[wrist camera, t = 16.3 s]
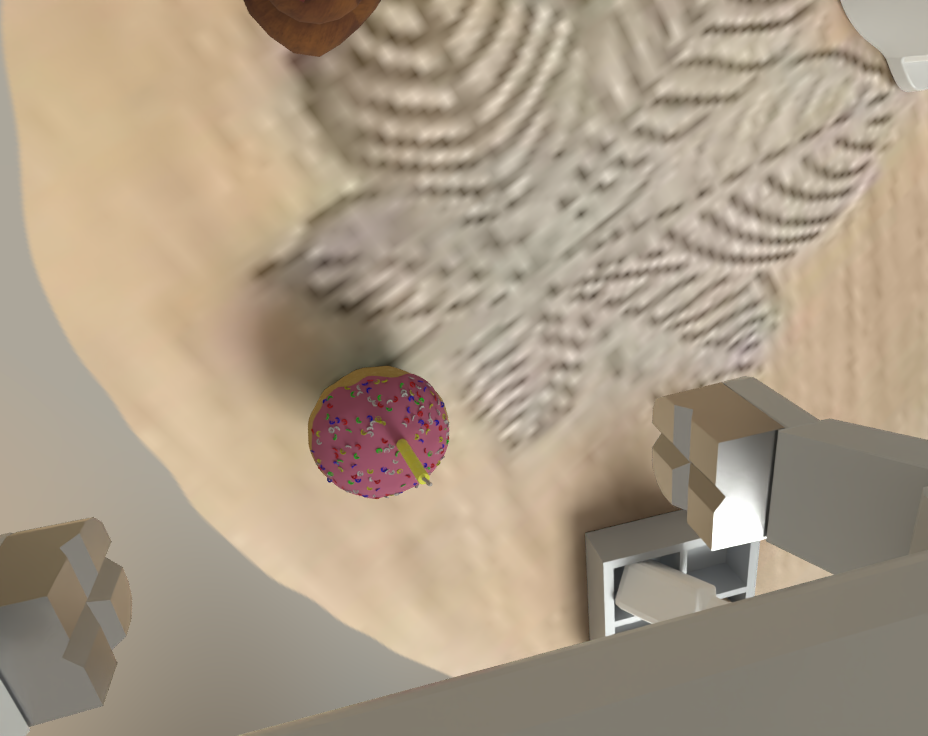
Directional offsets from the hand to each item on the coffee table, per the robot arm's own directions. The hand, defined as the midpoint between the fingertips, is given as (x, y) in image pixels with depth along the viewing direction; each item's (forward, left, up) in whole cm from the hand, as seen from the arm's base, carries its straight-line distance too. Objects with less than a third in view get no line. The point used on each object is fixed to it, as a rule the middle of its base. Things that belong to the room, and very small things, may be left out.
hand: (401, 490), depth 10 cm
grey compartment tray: (-21, +36, -31) cm, 52 cm away
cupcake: (0, +14, -31) cm, 34 cm away
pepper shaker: (-17, +33, -29) cm, 47 cm away
